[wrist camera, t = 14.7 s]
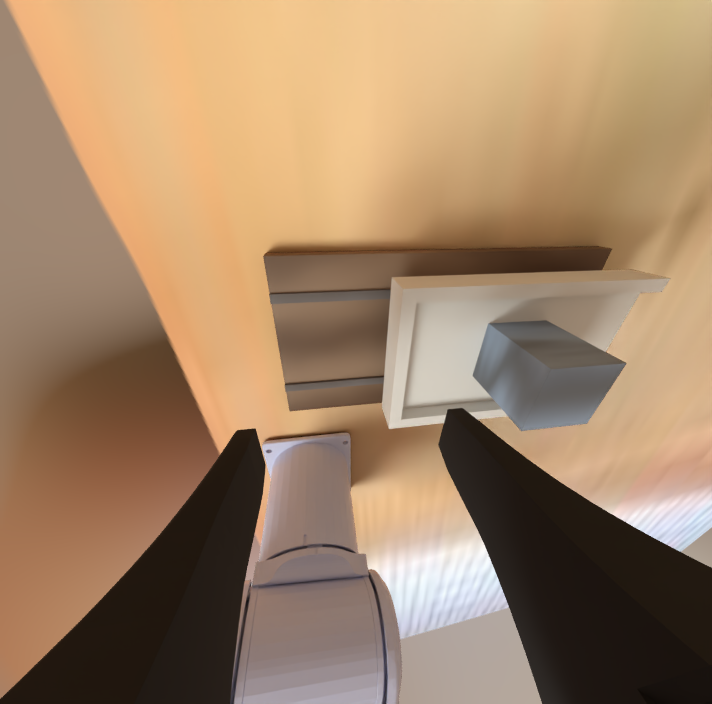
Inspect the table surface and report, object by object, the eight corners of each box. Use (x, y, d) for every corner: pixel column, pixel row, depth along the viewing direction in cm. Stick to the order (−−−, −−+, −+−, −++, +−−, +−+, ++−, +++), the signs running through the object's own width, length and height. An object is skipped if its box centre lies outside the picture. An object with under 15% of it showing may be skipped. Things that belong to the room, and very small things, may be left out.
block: (524, 371, 19) (586, 423, 14) (472, 375, 18) (521, 431, 14) (546, 320, 17) (626, 363, 12) (488, 323, 16) (551, 369, 12)
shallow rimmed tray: (554, 381, 23) (589, 407, 20) (378, 397, 21) (388, 429, 18) (612, 265, 18) (670, 278, 15) (386, 271, 16) (403, 288, 13)
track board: (537, 380, 25) (546, 388, 24) (290, 402, 22) (289, 412, 21) (598, 246, 19) (615, 249, 18) (266, 252, 16) (262, 257, 15)
